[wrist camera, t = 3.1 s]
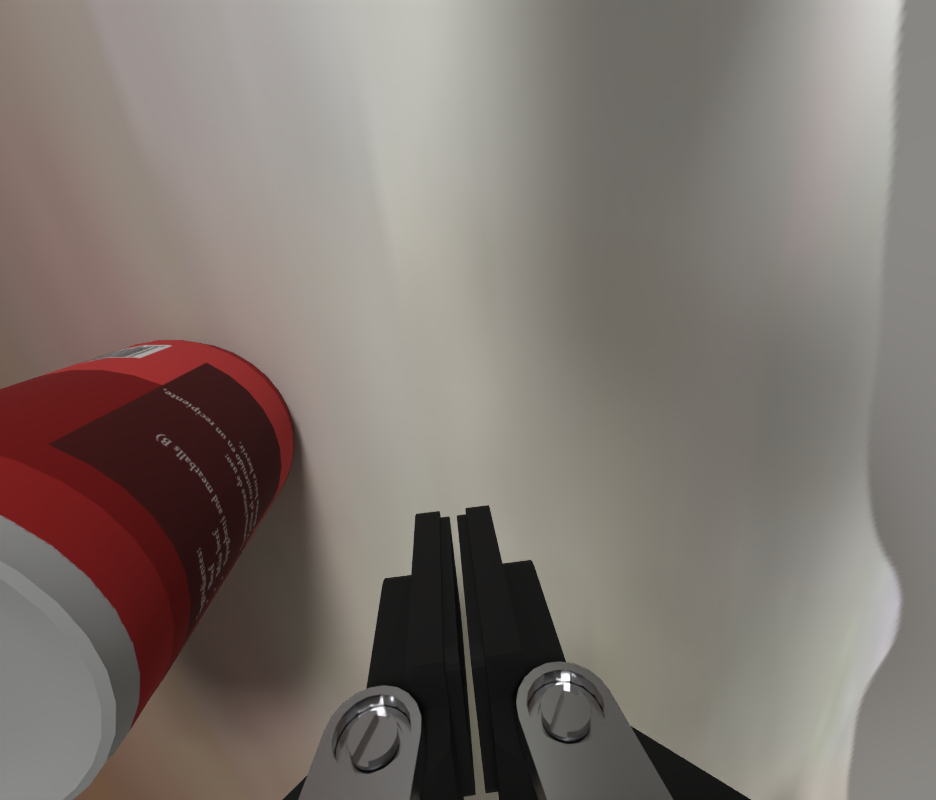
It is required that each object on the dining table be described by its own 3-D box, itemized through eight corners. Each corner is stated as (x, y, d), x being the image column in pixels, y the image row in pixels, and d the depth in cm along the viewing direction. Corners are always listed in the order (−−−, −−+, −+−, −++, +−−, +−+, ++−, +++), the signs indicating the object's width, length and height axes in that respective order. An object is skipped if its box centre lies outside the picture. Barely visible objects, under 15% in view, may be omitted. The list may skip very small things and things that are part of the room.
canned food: (58, 456, 17) (-496, 768, 7) (148, 289, 16) (-416, 377, 5) (239, 547, 19) (12, 898, 9) (337, 408, 18) (198, 644, 7)
